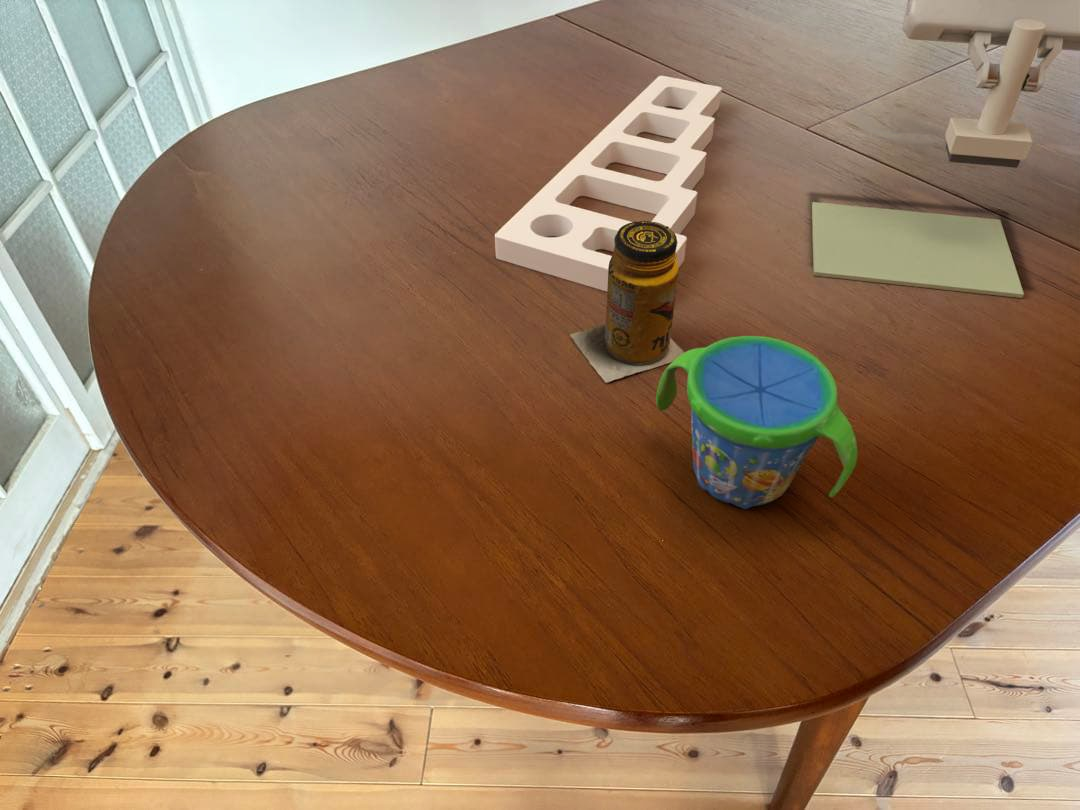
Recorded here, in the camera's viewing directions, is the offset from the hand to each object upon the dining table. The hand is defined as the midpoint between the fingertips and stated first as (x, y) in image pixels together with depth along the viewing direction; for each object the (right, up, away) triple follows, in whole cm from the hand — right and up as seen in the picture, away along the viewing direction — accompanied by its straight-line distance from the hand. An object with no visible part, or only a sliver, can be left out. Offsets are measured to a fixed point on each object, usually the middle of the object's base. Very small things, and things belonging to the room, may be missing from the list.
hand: (1008, 88), depth 81 cm
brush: (0, -5, +6) cm, 7 cm away
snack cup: (-28, -36, -12) cm, 47 cm away
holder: (-30, -4, +21) cm, 37 cm away
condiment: (-36, -25, -1) cm, 44 cm away
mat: (-5, -13, +10) cm, 17 cm away
